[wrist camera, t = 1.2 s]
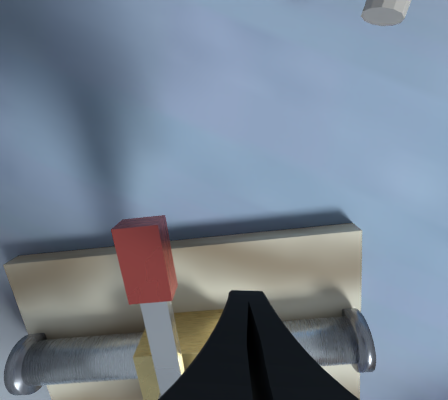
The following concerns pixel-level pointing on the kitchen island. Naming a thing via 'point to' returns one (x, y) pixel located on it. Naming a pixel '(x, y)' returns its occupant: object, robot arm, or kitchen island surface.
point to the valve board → (191, 289)
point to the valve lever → (152, 289)
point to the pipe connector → (385, 11)
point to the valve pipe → (189, 344)
